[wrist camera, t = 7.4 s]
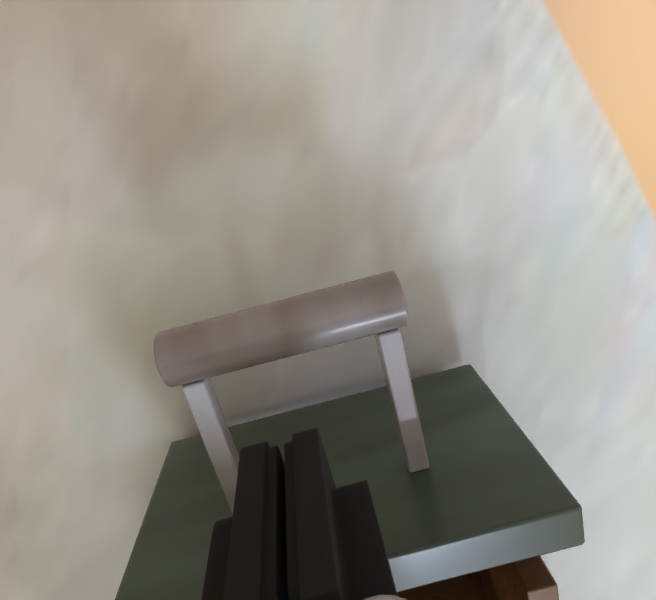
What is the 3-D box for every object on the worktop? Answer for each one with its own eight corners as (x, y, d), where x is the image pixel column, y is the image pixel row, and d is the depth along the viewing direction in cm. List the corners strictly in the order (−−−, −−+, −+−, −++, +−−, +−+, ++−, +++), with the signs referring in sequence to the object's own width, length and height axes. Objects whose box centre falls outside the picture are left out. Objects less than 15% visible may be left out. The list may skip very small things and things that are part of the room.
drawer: (110, 300, 16) (-19, 427, 9) (445, 212, 16) (564, 275, 9) (272, 679, 23) (267, 917, 16) (512, 616, 23) (611, 829, 16)
